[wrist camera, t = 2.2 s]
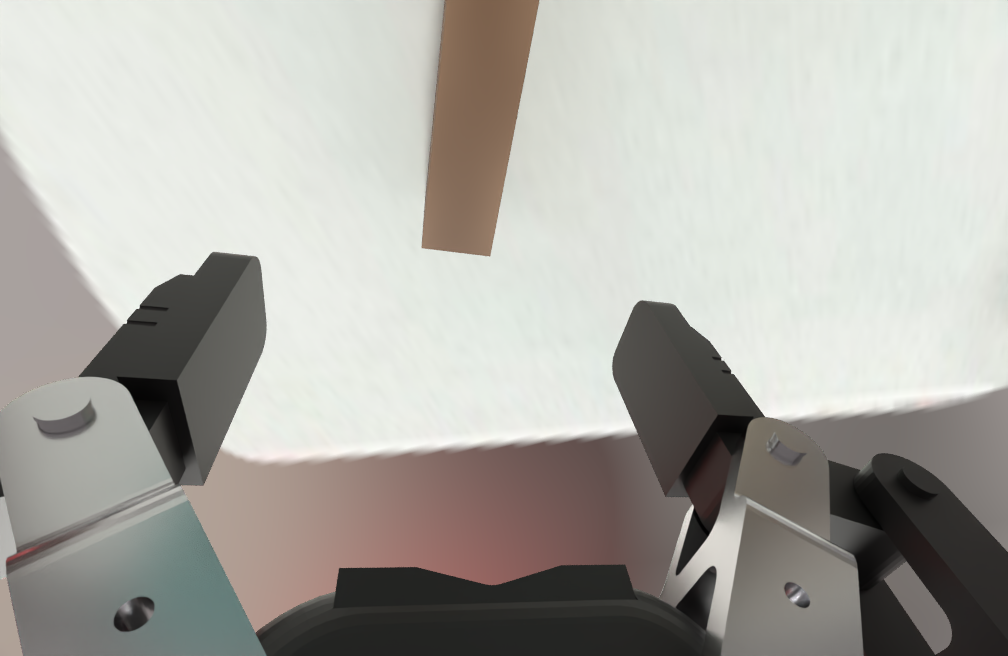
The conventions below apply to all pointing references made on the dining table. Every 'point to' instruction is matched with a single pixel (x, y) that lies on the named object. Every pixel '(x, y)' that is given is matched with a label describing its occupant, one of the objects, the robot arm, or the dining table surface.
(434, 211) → the brown wooden plank
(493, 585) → the robot arm
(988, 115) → the dining table surface
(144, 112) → the dining table surface
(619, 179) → the dining table surface
